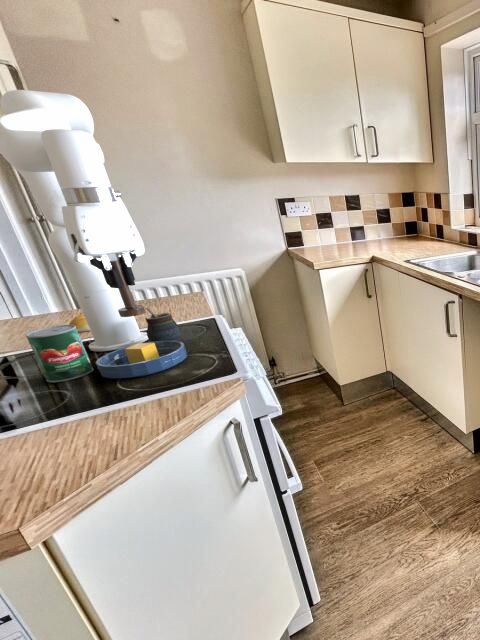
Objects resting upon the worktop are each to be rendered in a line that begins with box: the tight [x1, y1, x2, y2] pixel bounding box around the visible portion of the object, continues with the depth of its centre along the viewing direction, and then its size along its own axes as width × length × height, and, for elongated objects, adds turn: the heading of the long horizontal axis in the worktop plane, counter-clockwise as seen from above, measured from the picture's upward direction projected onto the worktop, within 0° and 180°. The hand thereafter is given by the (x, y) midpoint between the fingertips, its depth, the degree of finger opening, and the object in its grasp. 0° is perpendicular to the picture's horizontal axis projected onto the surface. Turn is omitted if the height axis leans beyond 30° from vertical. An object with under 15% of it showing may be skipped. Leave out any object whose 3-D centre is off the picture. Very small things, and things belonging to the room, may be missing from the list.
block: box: [125, 342, 159, 364], centre depth 102 cm, size 4×4×4 cm
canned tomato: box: [25, 324, 94, 383], centre depth 96 cm, size 8×8×11 cm
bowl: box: [95, 340, 188, 379], centre depth 101 cm, size 16×16×4 cm
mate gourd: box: [144, 307, 182, 342], centre depth 114 cm, size 7×8×10 cm
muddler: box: [110, 260, 147, 317], centre depth 92 cm, size 4×4×12 cm
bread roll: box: [68, 314, 91, 333], centre depth 130 cm, size 8×9×4 cm
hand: (122, 285), depth 92 cm, fingers closed on muddler
